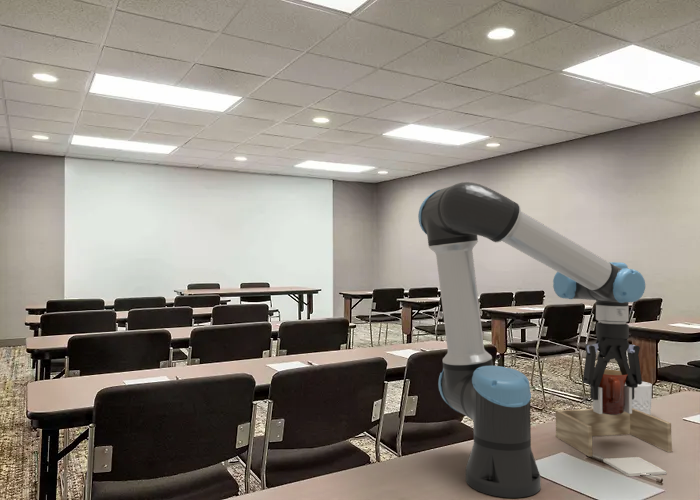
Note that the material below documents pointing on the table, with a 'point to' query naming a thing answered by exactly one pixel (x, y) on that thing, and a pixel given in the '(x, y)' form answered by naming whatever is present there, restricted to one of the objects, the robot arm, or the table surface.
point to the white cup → (642, 397)
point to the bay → (610, 428)
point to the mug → (613, 392)
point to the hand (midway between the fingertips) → (612, 412)
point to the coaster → (634, 466)
